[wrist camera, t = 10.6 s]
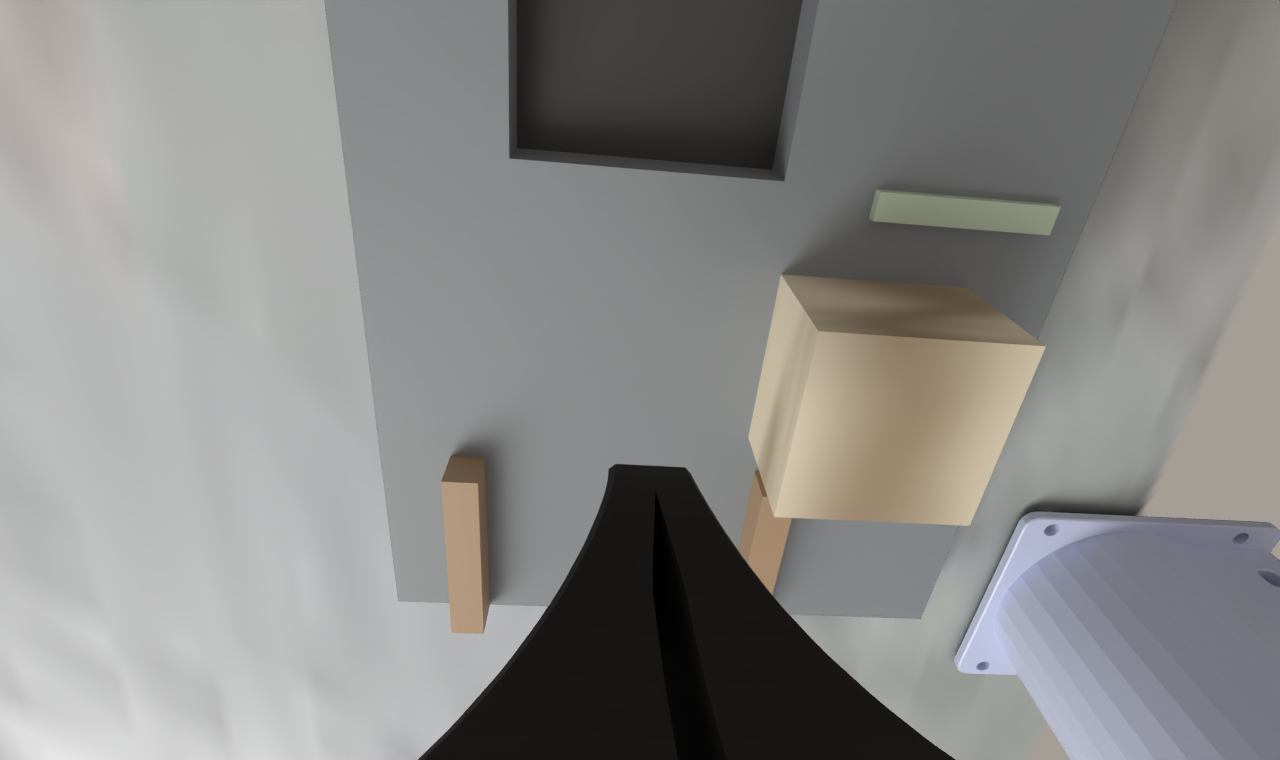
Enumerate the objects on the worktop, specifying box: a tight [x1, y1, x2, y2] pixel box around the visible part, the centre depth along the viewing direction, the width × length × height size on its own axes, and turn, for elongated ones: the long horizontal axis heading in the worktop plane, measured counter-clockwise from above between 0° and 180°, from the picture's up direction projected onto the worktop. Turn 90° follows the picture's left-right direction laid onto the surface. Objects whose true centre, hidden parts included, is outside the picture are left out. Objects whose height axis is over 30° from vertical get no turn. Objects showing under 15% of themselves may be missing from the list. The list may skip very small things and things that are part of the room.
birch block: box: [748, 274, 1046, 526], centre depth 17 cm, size 5×5×4 cm
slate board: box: [324, 0, 1178, 634], centre depth 17 cm, size 18×23×3 cm
